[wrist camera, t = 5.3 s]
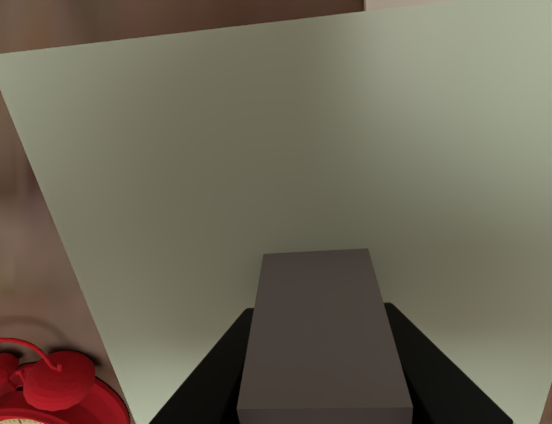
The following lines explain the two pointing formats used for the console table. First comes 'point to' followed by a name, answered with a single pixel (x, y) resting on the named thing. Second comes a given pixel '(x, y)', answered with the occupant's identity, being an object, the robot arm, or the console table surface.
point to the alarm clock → (55, 391)
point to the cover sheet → (308, 201)
